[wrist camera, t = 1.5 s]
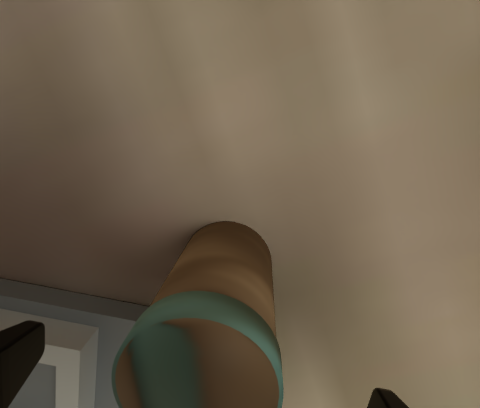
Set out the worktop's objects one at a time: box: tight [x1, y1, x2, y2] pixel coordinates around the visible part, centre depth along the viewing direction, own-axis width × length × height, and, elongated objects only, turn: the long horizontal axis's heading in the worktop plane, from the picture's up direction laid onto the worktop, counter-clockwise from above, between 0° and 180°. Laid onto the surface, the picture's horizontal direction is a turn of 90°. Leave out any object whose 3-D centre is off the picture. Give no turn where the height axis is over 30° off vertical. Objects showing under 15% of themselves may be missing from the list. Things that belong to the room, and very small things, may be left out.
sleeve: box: [111, 221, 283, 408], centre depth 11 cm, size 4×4×7 cm
